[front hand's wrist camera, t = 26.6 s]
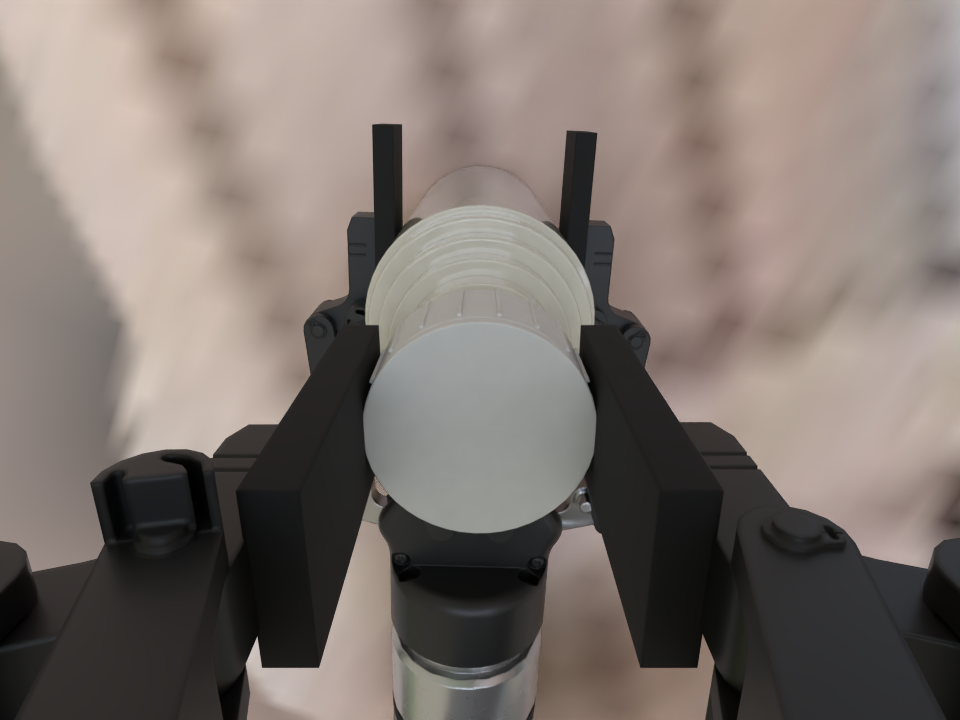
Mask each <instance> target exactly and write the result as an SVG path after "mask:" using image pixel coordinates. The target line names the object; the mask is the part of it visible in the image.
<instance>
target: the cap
mask: <svg viewBox="0 0 960 720" xmlns="http://www.w3.org/2000/svg"><path fill="white" fill-rule="evenodd" d="M589 382H590V380H589V377H588V375H587V373H586V370H585V368H584V365H583V363H582V361H581V358H580V356H579V353H578V351H577V348H574V349H573V347H572V344H571V343H570V341H569V339H568V337H567V336H566V334H565V332H564V331H563V329H562V327H561V324H560V322H559V321H558V320H557V321H555V320H554V319H553V318H551V317H550V316H549V315H548V314H547V313H546V312H545V311H543V310H542V309H540V308H539V307H538V306H536V305H534V303H533V301H532V300H529V301H527V300H525V299H523V298H520V297H518V296H515V295H512V294H508V293H504V292H500V290H499V289H495V291H493V290H467V291H464V290H463V289H460V290H459V292H455V293H451V294H448V295H444V296H442V297H440V298H437V299H435V300H432V301H431V302H430V300H428V301H426V303H425V305H424V306H422V307H420V308H419V309H418V310H416V311H415V312H414V313H413V314H411V315H410V316H409V317H408V318H407V319H406V320H405V321H404V322H403V321H401V322H400V323H399V325H398V327H397V330H396V332H395V333H394V335H393V336H392V338H391V340H390V342H389V344H388V346H387V348H386V349H384V348H383V350H382V352H381V355H380V357H379V360H378V362H377V364H376V367H375V369H374V372H373V374H372V376H371V379H370V381H369V383H371V384H372V385H371V388H370V391H369V393H368V396H367V399H366V402H365V407H364V411H363V423H364V439H365V451H366V456H367V459H368V461H369V464H370V466H371V469H372V471H373V472H374V474H375V476H376V478H377V479H378V481H379V483H380V484H381V485H382V487H383V488H384V489H385V491H386V492H387V493H388V494H389V495H390V496H391V497H392V498H393V499H394V500H395V501H396V502H397V503H398V504H399V505H401V506H402V507H403V508H404V509H406V510H407V511H408V512H410V513H412V514H413V515H415V516H416V517H418V518H420V519H422V520H424V521H426V522H428V523H431V524H433V525H436V526H439V527H442V528H445V529H449V530H454V531H458V532H467V533H493V532H501V531H506V530H510V529H515V528H518V527H521V526H524V525H526V524H529V523H531V522H534V521H536V520H538V519H540V518H542V517H543V516H545V515H546V514H548V513H550V512H551V511H553V510H554V509H555V508H557V507H558V506H559V505H560V504H561V503H563V502H564V501H565V500H566V499H567V498H568V497H569V496H570V495H571V493H572V492H573V491H574V490H575V489H576V487H577V486H578V485H579V483H580V482H581V480H582V479H583V477H584V475H585V473H586V472H587V470H588V468H589V466H590V463H591V460H592V457H593V454H594V446H595V432H596V408H595V404H594V400H593V397H592V394H591V392H590V389H589V387H588V384H587V383H589Z"/></svg>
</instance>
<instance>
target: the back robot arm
mask: <svg viewBox="0 0 960 720" xmlns="http://www.w3.org/2000/svg"><path fill="white" fill-rule="evenodd" d="M372 133H373V181H374V212H358V213H356V214H355V215H354V216H353V217H352V218H351V221H350V224H349V226H348V229H347V237H348V265H349V294H348V295H347V296H345V297H342V298H339V299H336V300H327V301H324V302H323V303H321V304H320V305H319V306H318V308H317V309H316V310H315V311H314V312H313V314H312V315H311V316H310V317H309V318H308V319H307V321H306V323H305V324H304V336H305V342H306V348H307V354H308V361H309V367H310V373H311V374H312V372H313V371H314V369H315V368H316V366H317V365H318V363H319V362H320V360H321V358H322V357H323V355H324V354H325V352H326V351H327V349H328V348H329V346H330V345H331V343H332V342H333V340H334V338H335V337H336V335H337V334H338V332H339V331H340V329H341V328H342V326H343V325H366V323H365V305H366V299H367V293H368V288H369V285H370V282H371V279H372V276H373V274H374V272H375V270H376V268H377V265H378V263H379V262H380V260H381V259H382V257H383V256H384V254H385V253H386V251H387V250H388V248H389V247H390V245H391V244H392V242H393V241H394V239H395V238H396V237H397V235H398V234H399V232H400V231H401V229H402V228H403V220H402V124H374V125H372ZM596 141H597V133H593V132H586V131H567V136H566V148H565V161H564V174H563V187H562V200H561V212H560V225H559V231H560V232H561V234H562V235H563V237H564V238H565V239H566V241H567V242H568V244H569V245H570V247H571V248H572V250H573V251H574V252H575V254H576V255H577V257H578V259H579V261H580V262H581V264H582V266H583V267H584V270H585V272H586V275H587V277H588V279H589V282H590V286H591V290H592V294H593V300H594V308H595V320H594V325H617V327H618V328H619V330H620V331H621V333H622V335H623V336H624V338H625V339H626V341H627V342H628V344H629V345H630V347H631V348H632V350H633V351H634V353H635V355H636V356H637V358H638V359H639V361H640V362H641V364H642V365H643V367H645V363H646V359H647V355H648V351H649V346H650V335H649V333H648V332H647V330H646V329H645V328H644V326H643V325H642V324H641V323H640V321H639V320H638V319H637V317H636V316H635V315H634V314H633V313H632V312H630V311H627V310H624V311H622V310H620V309H617V308H615V307H612V306H611V305H609V304H608V294H609V284H610V275H611V264H612V257H613V255H612V254H613V247H614V237H613V233H612V230H611V226H610V225H608V224H607V223H606V222H605V221H593V220H589V215H590V205H591V194H592V183H593V173H594V162H595V151H596ZM362 520H363V521H367V522H371V523H375V524H379V529H380V532H381V534H382V535H383V537H384V538H385V540H386V541H387V543H388V545H389V548H390V561H391V615H392V621H393V626H392V631H391V638H392V670H393V702H394V720H533V712H534V707H535V697H536V692H537V684H538V672H539V660H540V649H541V625H542V621H543V612H544V601H545V589H546V578H547V566H548V557H549V553H550V551H551V549H552V547H553V546H554V544H555V543H556V542H557V540H558V539H559V537H560V535H561V532H562V530H567V529H572V528H577V527H583V526H588V525H594V526H595V529H596V530H597V531H598V532H599V533H601V530H600V526H599V523H598V519H597V516H596V513H595V509H594V506H593V502H592V499H591V495H590V492H589V488H588V485H587V482H586V478H585V475H584V477H583V479H582V480H581V482H580V483H579V485H578V486H577V487H576V489H575V490H574V491H573V492H572V493H571V495H570V496H569V497H568V498H567V499H566V500H565V501H564V502H563V503H561V504H560V505H559V506H558V507H557V508H555V509H554V510H553V511H551V512H550V513H548V514H546V515H545V516H543V517H542V518H540V519H538V520H536V521H534V522H531V523H529V524H526V525H524V526H521V527H518V528H515V529H510V530H506V531H501V532H493V533H467V532H458V531H454V530H449V529H445V528H442V527H439V526H436V525H433V524H431V523H428V522H426V521H424V520H422V519H420V518H418V517H416V516H415V515H413V514H412V513H410V512H408V511H407V510H406V509H404V508H403V507H402V506H401V505H399V504H398V503H397V502H396V501H395V500H394V499H393V498H392V497H391V496H390V495H389V494H388V495H387V496H384V495H382V494H380V493H379V492H378V491H377V490H376V487H375V479H374V480H373V484H372V487H371V490H370V494H369V497H368V501H367V504H366V508H365V511H364V515H363V518H362ZM601 534H602V533H601Z"/></svg>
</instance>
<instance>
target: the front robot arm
mask: <svg viewBox="0 0 960 720" xmlns="http://www.w3.org/2000/svg"><path fill="white" fill-rule="evenodd" d="M579 356H580V358H581V361H582V363H583V365H584V368H585V370H586V373H587V375H588V377H589V380H590V382H589V383H587V384H588V387H589V389H590V392H591V394H592V397H593V400H594V404H595V408H596V432H595V446H594V454H593V457H592V460H591V463H590V466H589V468H588V470H587V472H586V473H585V478H586V482H587V485H588V488H589V492H590V495H591V499H592V502H593V506H594V509H595V513H596V516H597V519H598V523H599V526H600V530H601V533H602V537H603V540H604V544H605V547H606V550H607V554H608V557H609V561H610V564H611V568H612V571H613V575H614V578H615V581H616V585H617V588H618V592H619V595H620V599H621V602H622V606H623V609H624V612H625V616H626V619H627V623H628V626H629V630H630V633H631V637H632V640H633V643H634V647H635V650H636V654H637V657H638V661H639V664H640V668H697V666H698V660H699V653H700V646H701V640H702V633H703V636H704V638H705V640H706V643H707V645H708V647H709V650H710V652H711V654H712V657H713V659H714V661H715V663H714V670H713V676H712V682H711V688H710V694H709V700H708V706H707V713H706V719H705V720H960V538H956V539H950V540H944V541H943V542H941V543H940V544H939V545H938V546H936V547H935V548H934V551H933V554H932V558H931V561H930V564H929V568H928V569H925V568H919V567H914V566H909V565H904V564H899V563H893V562H888V561H883V560H878V559H874V558H870V557H866V556H862V555H861V553H860V551H859V549H858V547H857V545H856V543H855V542H854V541H853V540H852V539H851V537H850V536H849V535H848V534H847V533H846V531H845V530H843V529H842V528H840V527H839V526H837V525H836V524H834V523H833V522H831V521H830V520H828V519H826V518H824V517H821V516H819V515H816V514H814V513H811V512H809V511H806V510H802V509H797V508H792V507H789V505H788V504H787V503H786V502H785V500H784V499H783V498H782V496H781V495H780V494H779V493H778V491H777V490H776V489H775V488H774V486H773V485H772V484H771V483H770V481H769V480H768V479H767V477H766V476H765V475H764V474H763V472H762V471H761V470H760V469H757V465H756V464H755V462H754V461H753V460H752V459H751V457H750V456H747V452H746V451H745V450H744V448H743V447H742V446H741V445H740V443H739V442H738V441H737V440H736V438H735V437H734V436H733V435H731V434H729V433H728V432H726V431H724V430H723V429H721V428H719V427H718V426H716V425H714V424H713V423H711V422H679V421H678V419H677V418H676V416H675V415H674V413H673V412H672V410H671V408H670V407H669V405H668V404H667V402H666V401H665V399H664V398H663V396H662V395H661V393H660V392H659V390H658V388H657V387H656V385H655V384H654V382H653V381H652V379H651V378H650V376H649V375H648V373H647V372H646V370H645V368H644V367H643V365H642V364H641V362H640V361H639V359H638V358H637V356H636V355H635V353H634V351H633V350H632V348H631V347H630V345H629V344H628V342H627V341H626V339H625V338H624V336H623V335H622V333H621V331H620V330H619V328H618V327H617V325H581V329H580V347H579ZM379 357H380V337H379V325H343V326H342V328H341V329H340V331H339V332H338V334H337V335H336V337H335V338H334V340H333V342H332V343H331V345H330V346H329V348H328V349H327V351H326V352H325V354H324V355H323V357H322V358H321V360H320V362H319V363H318V365H317V366H316V368H315V369H314V371H313V372H312V374H311V375H310V377H309V378H308V380H307V382H306V383H305V385H304V386H303V388H302V389H301V391H300V392H299V394H298V395H297V397H296V398H295V400H294V402H293V403H292V405H291V406H290V408H289V409H288V411H287V412H286V414H285V415H284V417H283V418H282V420H281V422H280V423H279V425H247V426H246V427H244V428H242V429H241V430H239V431H238V432H236V433H234V434H233V435H231V436H229V437H228V438H226V439H225V440H224V442H223V443H222V444H221V445H220V447H219V448H218V449H217V451H216V452H215V453H214V454H213V458H209V457H207V456H206V455H205V454H203V453H200V452H196V451H192V450H187V449H177V450H161V451H155V452H149V453H144V454H140V455H137V456H134V457H131V458H128V459H125V460H122V461H120V462H118V463H116V464H114V465H113V466H111V467H109V468H107V469H105V470H103V471H102V472H101V473H100V474H99V475H98V476H97V477H96V478H95V479H94V480H93V481H92V482H91V483H90V484H91V488H92V493H93V497H94V501H95V505H96V509H97V513H98V518H99V522H100V526H101V530H102V534H103V538H104V542H105V545H104V547H103V549H102V551H101V552H100V554H99V556H98V558H97V559H94V560H90V561H86V562H82V563H77V564H72V565H67V566H61V567H56V568H51V569H46V570H41V571H36V572H32V570H31V566H30V563H29V560H28V556H27V553H26V551H25V550H24V549H23V548H21V547H20V546H19V545H18V544H16V543H10V542H3V541H0V720H247V712H248V705H249V697H250V690H249V682H248V676H247V670H246V661H247V659H248V657H249V654H250V652H251V650H252V647H253V645H254V643H255V640H256V638H257V636H258V643H259V649H260V656H261V663H262V668H319V666H320V663H321V659H322V656H323V652H324V649H325V645H326V642H327V638H328V635H329V632H330V628H331V625H332V621H333V618H334V614H335V611H336V607H337V604H338V601H339V597H340V594H341V590H342V587H343V583H344V580H345V576H346V573H347V570H348V566H349V563H350V559H351V556H352V552H353V549H354V545H355V542H356V539H357V535H358V532H359V528H360V525H361V521H362V518H363V515H364V511H365V508H366V504H367V501H368V497H369V494H370V490H371V487H372V484H373V480H374V477H375V474H374V472H373V471H372V469H371V466H370V464H369V461H368V459H367V456H366V451H365V439H364V423H363V411H364V407H365V402H366V399H367V396H368V393H369V391H370V388H371V385H372V384H371V383H369V381H370V379H371V376H372V374H373V372H374V369H375V367H376V364H377V362H378V360H379Z"/></svg>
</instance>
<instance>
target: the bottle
mask: <svg viewBox="0 0 960 720" xmlns="http://www.w3.org/2000/svg"><path fill="white" fill-rule="evenodd" d="M460 289H463V290H464V291H467V290H493V291H495V289H499V290H500V292H504V293H508V294H512V295H515V296H518V297H520V298H523V299H525V300H527V301H529V300H532V301H533V303H534V305H536V306H538V307H539V308H540V309H542V310H543V311H545V312H546V313H547V314H548V315H549V316H550V317H551V318H553V319H554V320H555V321H557V320H558V321H559V322H560V324H561V327H562V329H563V331H564V332H565V334H566V336H567V337H568V339H569V341H570V343H571V344H572V347H573V349H574V348H577V351H578V353H579V347H580V329H581V325H594V320H595V308H594V300H593V294H592V290H591V286H590V282H589V279H588V277H587V275H586V272H585V270H584V267H583V266H582V264H581V262H580V261H579V259H578V257H577V255H576V254H575V252H574V251H573V250H572V248H571V247H570V245H569V244H568V242H567V241H566V239H565V238H564V237H563V235H562V234H561V232H560V231H559V229H558V228H557V226H556V225H555V223H554V222H553V221H552V219H551V218H550V216H549V215H548V213H547V212H546V210H545V209H544V208H543V206H542V205H541V203H540V202H539V200H538V199H537V197H536V196H535V195H534V193H533V192H532V191H531V189H530V188H529V187H528V186H527V185H526V184H525V183H524V182H523V181H521V180H520V179H519V178H517V177H516V176H514V175H513V174H511V173H509V172H507V171H504V170H502V169H499V168H494V167H489V166H471V167H465V168H462V169H458V170H455V171H453V172H451V173H449V174H447V175H446V176H444V177H443V178H441V179H440V180H439V181H437V182H436V183H435V184H434V185H433V186H432V187H431V188H430V189H429V191H428V192H427V193H426V195H425V196H424V197H423V199H422V200H421V202H420V203H419V205H418V206H417V208H416V209H415V210H414V212H413V213H412V215H411V216H410V218H409V219H408V221H407V222H406V223H405V225H404V226H403V228H402V229H401V231H400V232H399V234H398V235H397V237H396V238H395V239H394V241H393V242H392V244H391V245H390V247H389V248H388V250H387V251H386V253H385V254H384V256H383V257H382V259H381V260H380V262H379V263H378V265H377V268H376V270H375V272H374V274H373V276H372V279H371V282H370V285H369V288H368V293H367V299H366V305H365V323H366V325H379V337H380V355H381V352H382V350H383V348H384V349H386V348H387V346H388V344H389V342H390V340H391V338H392V336H393V335H394V333H395V332H396V330H397V327H398V325H399V323H400V322H401V321H403V322H404V321H405V320H406V319H407V318H408V317H409V316H410V315H411V314H413V313H414V312H415V311H416V310H418V309H419V308H420V307H422V306H424V305H425V303H426V301H428V300H430V302H431V301H432V300H435V299H437V298H440V297H442V296H444V295H448V294H451V293H455V292H459V290H460Z"/></svg>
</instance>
